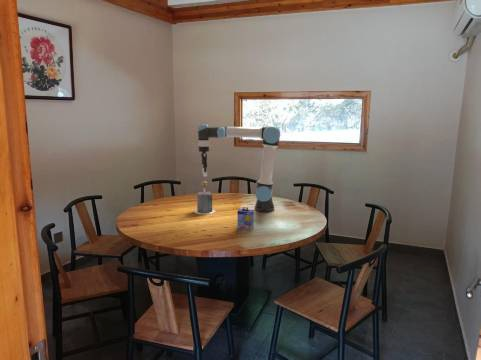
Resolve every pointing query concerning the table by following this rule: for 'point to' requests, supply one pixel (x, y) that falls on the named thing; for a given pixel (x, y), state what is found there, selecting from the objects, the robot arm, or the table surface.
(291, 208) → the table surface
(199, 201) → the grey piece
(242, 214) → the ink cartridge box
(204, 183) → the plunger
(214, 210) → the trivet
